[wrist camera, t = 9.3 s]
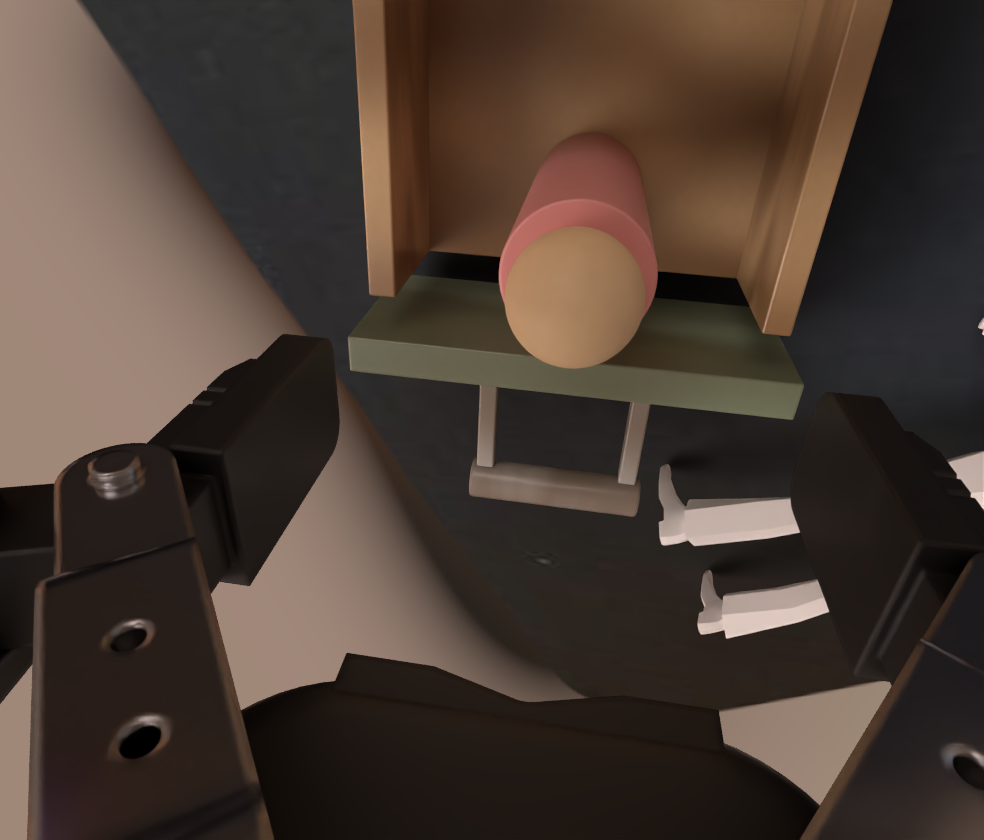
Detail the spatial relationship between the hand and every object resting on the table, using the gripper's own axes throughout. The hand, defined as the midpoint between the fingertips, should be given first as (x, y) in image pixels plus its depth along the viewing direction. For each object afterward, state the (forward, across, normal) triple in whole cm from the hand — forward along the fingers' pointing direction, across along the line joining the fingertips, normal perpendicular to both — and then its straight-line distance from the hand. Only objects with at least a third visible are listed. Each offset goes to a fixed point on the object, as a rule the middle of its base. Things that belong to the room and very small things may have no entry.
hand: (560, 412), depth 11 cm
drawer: (+14, 0, 0) cm, 14 cm away
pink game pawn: (+13, 0, -1) cm, 13 cm away
